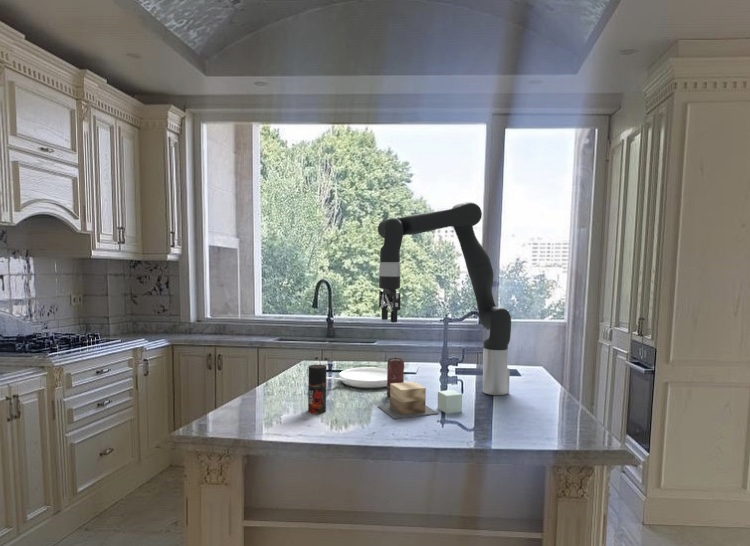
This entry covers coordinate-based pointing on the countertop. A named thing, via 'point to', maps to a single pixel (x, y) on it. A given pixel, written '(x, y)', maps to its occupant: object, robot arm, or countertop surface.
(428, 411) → the mat
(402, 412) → the block bottom
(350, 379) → the pan
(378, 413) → the countertop surface
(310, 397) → the deodorant
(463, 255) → the robot arm
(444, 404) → the cube
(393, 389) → the block top
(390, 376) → the can
